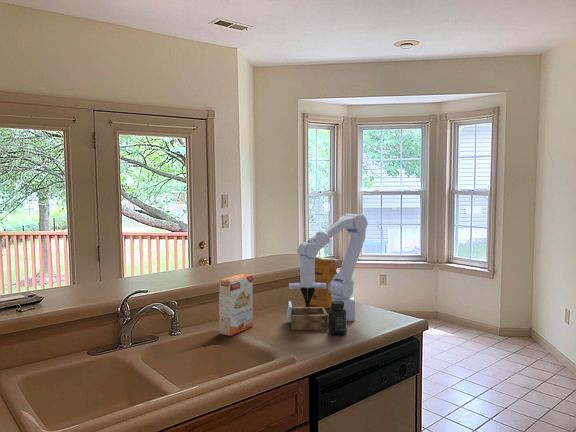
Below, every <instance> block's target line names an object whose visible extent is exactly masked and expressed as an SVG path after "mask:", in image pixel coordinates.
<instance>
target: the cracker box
mask: <svg viewBox="0 0 576 432" xmlns="http://www.w3.org/2000/svg"><path fill="white" fill-rule="evenodd" d="M253 277H254V275H253V274H249V273H248V274H247V273H239V274H236V275H232V276H229V277H224V278H221V279H219V281H218V282H219V283H218V285H219V286H218V290H219V292H218V293H219V294H218V296H219V297H218V299H219V300H218V305H219V309H218V314H219V315H218V317H219V318H218V321H219V322H218V323H219V326H218V327H219V328H218V329H219V331H218V332H219V334H220V335H222V336H227V337H232V336H234V335H236V334H238V333H241V332H244V331H245V330H249V329H250V328H253V297H254V296H253V294H254V293H253V289H254V288H253V287H254V286H253V284H254V281H253V280H254V278H253Z"/></svg>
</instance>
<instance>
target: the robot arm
mask: <svg viewBox="0 0 576 432" xmlns="http://www.w3.org/2000/svg"><path fill="white" fill-rule="evenodd" d="M368 224H369V223H368V220H367V218H366V216H365V215H364V214H361V213H360V214H356V213H349V212H346V213H344V214H343V215H341V216H340V217H339V219H338V220H337V221H336V222H335V223H333V224H332V225H331V226H330V227H328V228H327V230H325V231H324V230H322V231H316V233H315V235H314V236H312V237H311V238H308V239H307V241H303V242H301V243H300V244H299V245H298V247H297V249H296V252H297V254H298V256H299V259H300V260H299V261H300V262H299V263H300V265H299V266H300V268H299V271H300V275H299V276H300V278H299V280H300V282H293V283H290V282H289V283H288V289H289V290H294V289H295V290H296V289H297V290H298V289H299V290H300V292H301V295H302V296H303V299H304V303H305V307H311V305H310V301H311V298H312V296H313V294H314V291H315V290H314V289H317V288H323V289H326V283H315V257H317V255H318V254H319V251H320V250H321V249H323V248H324V247H326V246H327V245H328V244H330V241H331V238H333V237H335V236H336V235H338V234H339V233H340V232H342V231H344V230H346V232H347V233H348V234H349V236H350V240H349V244H348V247H347V249H346V252H345V254H344V257H343V259H342V264H341V266H340V267H339V271H338V272H337V274H336V275H335V276H334V277H333V279H332V281H331V282H330V283H329V286H328V290H329V292H330V293H331V296H332V301H342V302H344V309H345V310H346V311H347V322H353V321H354V322H355V321H356V301H355V297H353V296H352V295H353V293H354V284H355V281H354V279H353V278H352V277H353V274H354V270H355V269H356V265H357V263H358V259H359V257H360V254H361V251H362V248H363V246H364V245H363V244H364V242H365V239H366V232H367V231H366V230H367V227H368Z"/></svg>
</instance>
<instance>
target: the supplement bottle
mask: <svg viewBox="0 0 576 432" xmlns="http://www.w3.org/2000/svg"><path fill="white" fill-rule="evenodd" d="M327 315H328V329H327V330H328V331H327V332H328V334H329V336H332V337H344V336H346V335H347V333H348V332H347V329H348V327H347V325H348V324H347V323H348V321H347V311H346V310H345V309H344V302H342V301H332V302H331V307H330V308H329V310H328V313H327Z"/></svg>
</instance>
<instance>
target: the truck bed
mask: <svg viewBox="0 0 576 432" xmlns="http://www.w3.org/2000/svg"><path fill="white" fill-rule="evenodd" d="M289 324H290V329H291V330H293V331H298V330H299V331H302V330H304V331H306V330H307V331H308V330H311V331H312V330H313V331H314V330H315V331H317V330H328V313H327V310H326V308H324V307H316V306H310V307H306V306H305V307H304V306H303V307H302V306H301V307H300V306H298V307H296V306H295V307H293V306H292V312H291V322H290V323H289Z"/></svg>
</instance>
